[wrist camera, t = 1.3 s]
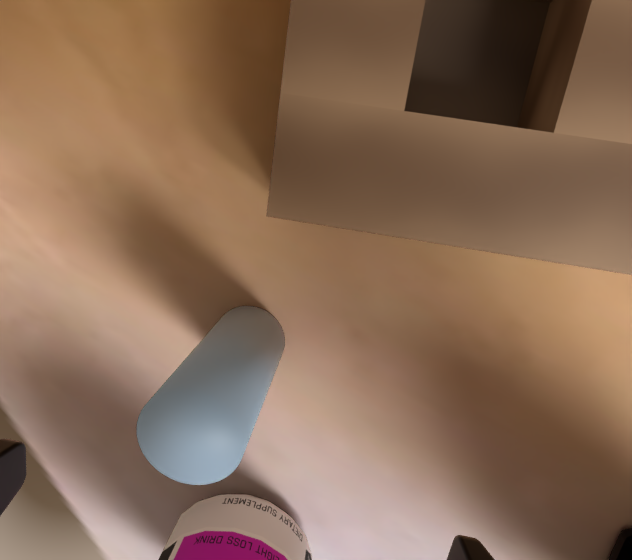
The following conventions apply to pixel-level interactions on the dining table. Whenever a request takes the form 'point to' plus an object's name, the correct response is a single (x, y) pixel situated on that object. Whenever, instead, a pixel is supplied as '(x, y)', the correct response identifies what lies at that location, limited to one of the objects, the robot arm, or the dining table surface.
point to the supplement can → (236, 532)
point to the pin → (213, 399)
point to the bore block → (462, 124)
